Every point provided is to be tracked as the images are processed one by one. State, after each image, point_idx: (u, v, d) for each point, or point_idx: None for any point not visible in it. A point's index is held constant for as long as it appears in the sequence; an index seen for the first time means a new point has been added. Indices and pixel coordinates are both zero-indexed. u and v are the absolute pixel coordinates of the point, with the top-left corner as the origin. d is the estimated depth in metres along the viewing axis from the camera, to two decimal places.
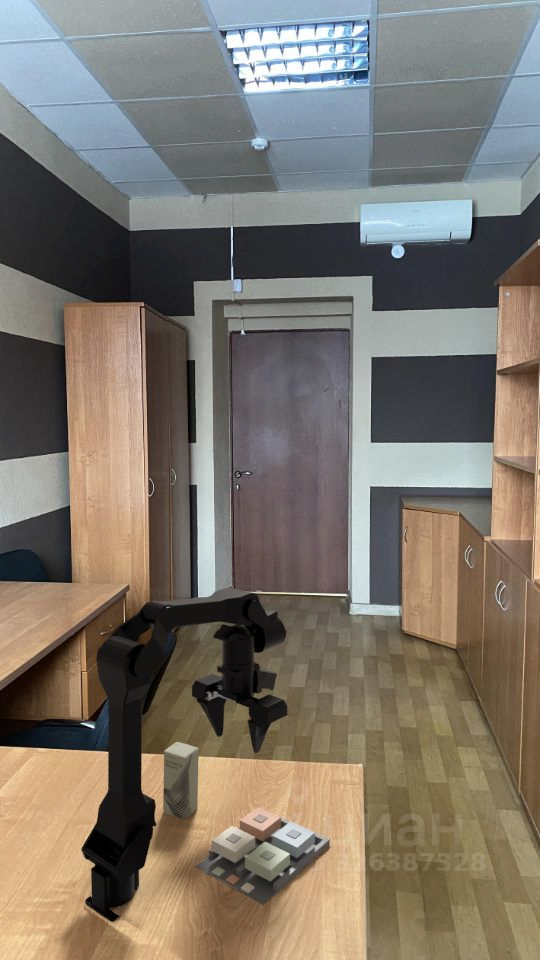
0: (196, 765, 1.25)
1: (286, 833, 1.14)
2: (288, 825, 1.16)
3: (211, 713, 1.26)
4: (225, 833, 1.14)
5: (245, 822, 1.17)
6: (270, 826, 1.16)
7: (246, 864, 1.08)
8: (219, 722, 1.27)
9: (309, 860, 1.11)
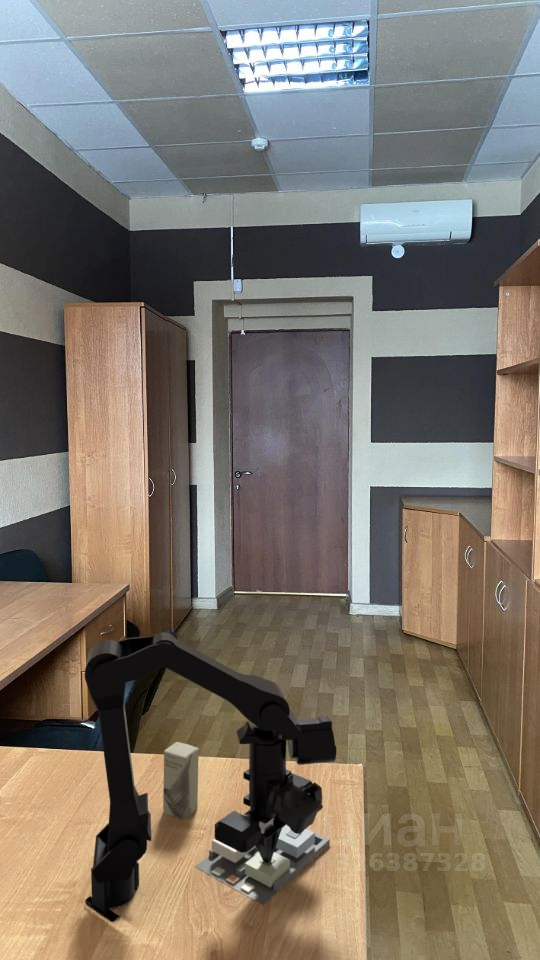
0: (196, 765, 1.25)
1: (286, 833, 1.14)
2: None
3: None
4: None
5: None
6: None
7: (246, 870, 1.08)
8: None
9: (309, 860, 1.11)
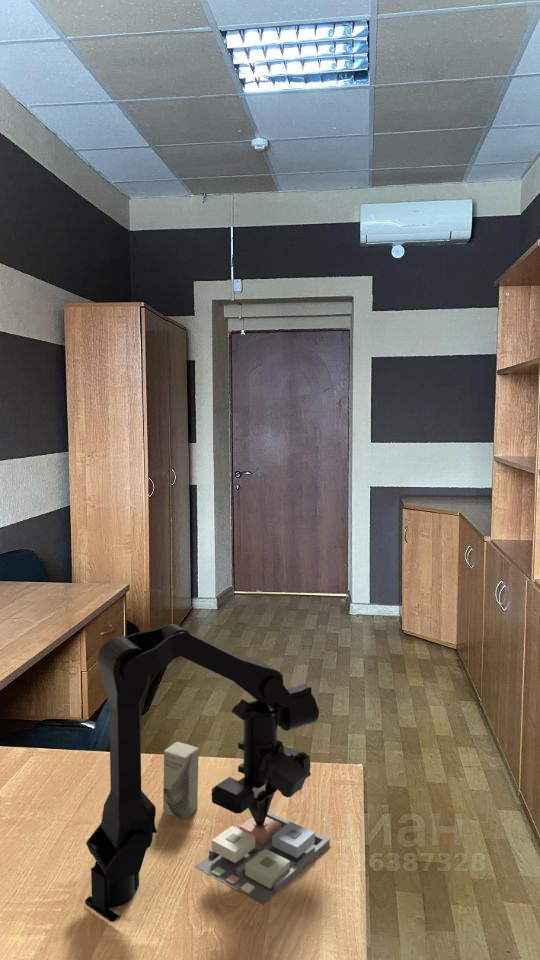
0: (196, 765, 1.25)
1: (286, 833, 1.14)
2: (288, 825, 1.16)
3: None
4: (225, 833, 1.14)
5: (245, 828, 1.17)
6: (270, 832, 1.16)
7: (246, 871, 1.08)
8: None
9: (309, 860, 1.11)
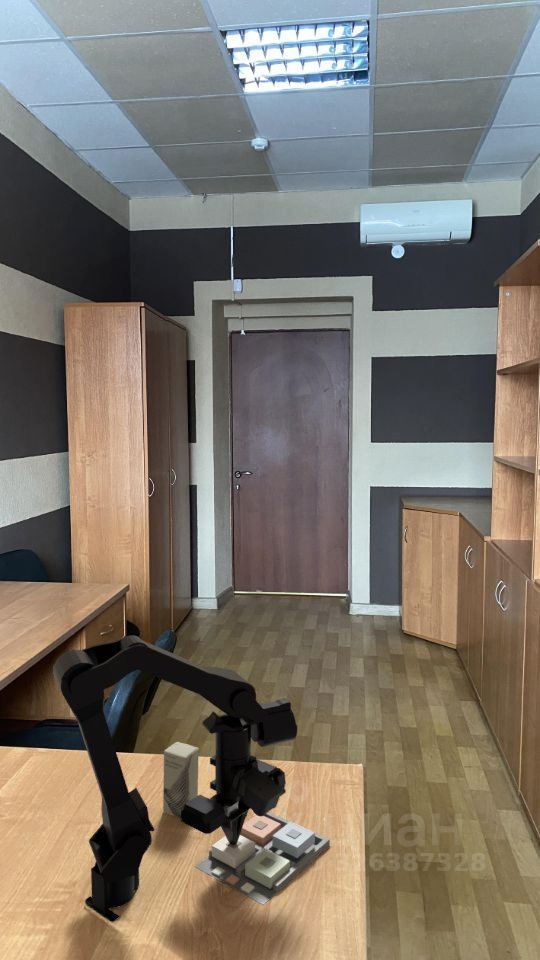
0: (196, 765, 1.25)
1: (286, 833, 1.14)
2: (288, 825, 1.16)
3: None
4: (225, 838, 1.14)
5: (245, 829, 1.17)
6: (270, 833, 1.16)
7: (246, 871, 1.08)
8: None
9: (309, 860, 1.11)
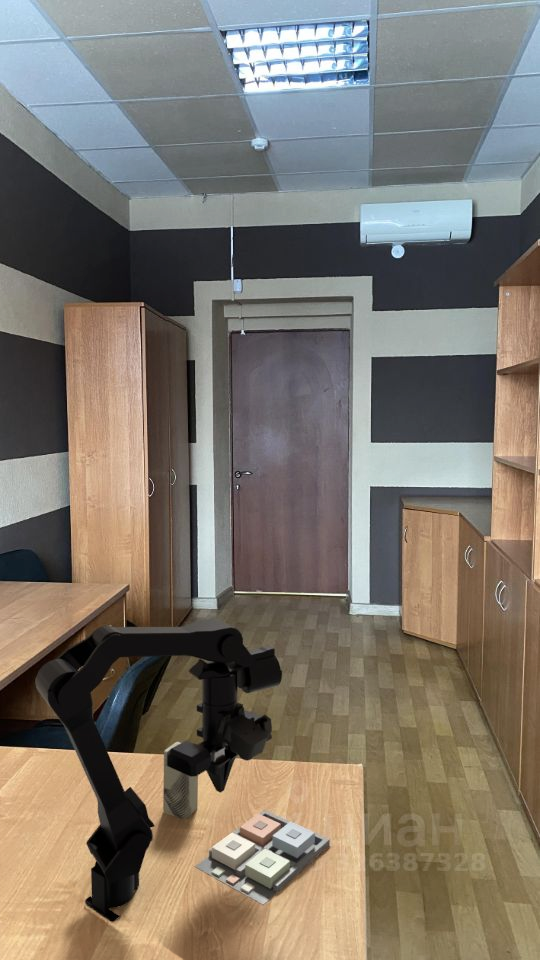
0: None
1: (286, 833, 1.14)
2: (288, 825, 1.16)
3: None
4: (225, 840, 1.14)
5: (245, 829, 1.17)
6: (270, 833, 1.16)
7: (246, 871, 1.08)
8: None
9: (309, 860, 1.11)
